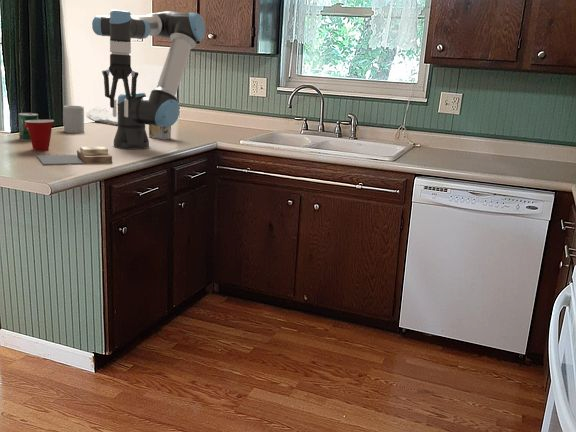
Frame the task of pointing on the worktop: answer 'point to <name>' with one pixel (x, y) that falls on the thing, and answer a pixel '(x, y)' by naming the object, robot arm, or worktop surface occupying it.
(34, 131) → the plastic cup
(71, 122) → the cup
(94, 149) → the birch tile
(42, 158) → the rubber mat
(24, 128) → the canned tomato
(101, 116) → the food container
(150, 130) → the coffee box
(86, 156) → the walnut deck
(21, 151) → the worktop surface
